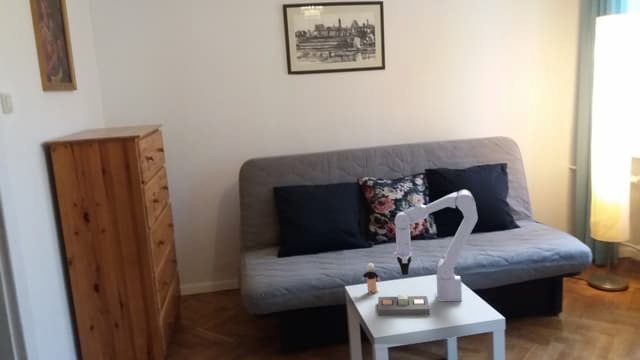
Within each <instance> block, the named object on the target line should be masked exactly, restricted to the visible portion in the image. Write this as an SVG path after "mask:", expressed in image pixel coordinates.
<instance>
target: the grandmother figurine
mask: <svg viewBox="0 0 640 360" xmlns="http://www.w3.org/2000/svg"><path fill="white" fill-rule="evenodd" d="M366 270H367V272H364V273H363V275H362V277H361V280H362V281H365V279H366V278H367V279H366V280H367V281H366V282H367V283H366V286H367V293H368V294H375V295H376V294H378V293H379V290H378V286H377V282H381V279H380V276H379V275H378V273H377V272H375V271H374V270H375V264H374V263H370V262H369V263H368V264H367V265H366Z"/></svg>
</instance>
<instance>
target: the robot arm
mask: <svg viewBox="0 0 640 360" xmlns="http://www.w3.org/2000/svg"><path fill="white" fill-rule="evenodd" d="M445 208H451V209H452V208H453V209H456V208H458V209H459V210H460V211H461V212H462V215H463V219H462V221H461V223H460V225H459V226H458V229H457V231H456V232H455V235H454V236H453V238H452V240H451V242H450V244H449V246H448V248H447V250H446V251H445V252H444V254H443V255H442V257H440V258H439V259H438V261H437V270H436V271H437V272H436V273H437V274H436V292H435V298H436V301H437V302H462V301H463V299H462V295H463V294H462V293H463V292H462V279H461V276H460V275H456V274H455V267H456V265H457V262H458V261H457V260H458V259H459V257H460V254H461V253H462V250H463V248H464V246H465V245H466V243H467V241H468V239H469V237H470V235H471V233H472V231H473V229H474V228H475V225H476V224H477V222H478V219H479V216H478V210H477V206H476V200H475V198H474V196H473V194H472V193H471V191H469V190H468V189H461V190H459V191H455V192H452V193H450V194H446V195H445V196H443V197H441V198H439V199H437V200H434V201H433V202H430V203H428V204H427V205H424V204H418V203H416V204H414V207H412V208H409V209H403V211H400V212H398V213H397V214H396V216H395V218H394V224H395V242H396V251H395V252H393V255H394V256H397V257H396V260H397V262H398V265H399V268H400V271H401V272H400V273H401V275H402V276H407V275H408V274H409V268H410V264H411V262H412V254H413V253H412V243H411V242H412V241H411V230H410V225H411V224H416V223H417V222H420V221H422V220H424V219H427V218H428V217H429V215H430V214H431V213H433V212H437V211H439V210H442V209H445Z"/></svg>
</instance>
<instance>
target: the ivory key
mask: <svg viewBox="0 0 640 360" xmlns="http://www.w3.org/2000/svg"><path fill="white" fill-rule="evenodd" d="M414 305H424V301H423V299H417V300H414Z"/></svg>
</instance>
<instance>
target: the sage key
mask: <svg viewBox="0 0 640 360" xmlns="http://www.w3.org/2000/svg"><path fill="white" fill-rule="evenodd" d="M408 296H409V295H407V294H403V295H402V294H401V295H400V294H398V295H397V297H398V305H408Z"/></svg>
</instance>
